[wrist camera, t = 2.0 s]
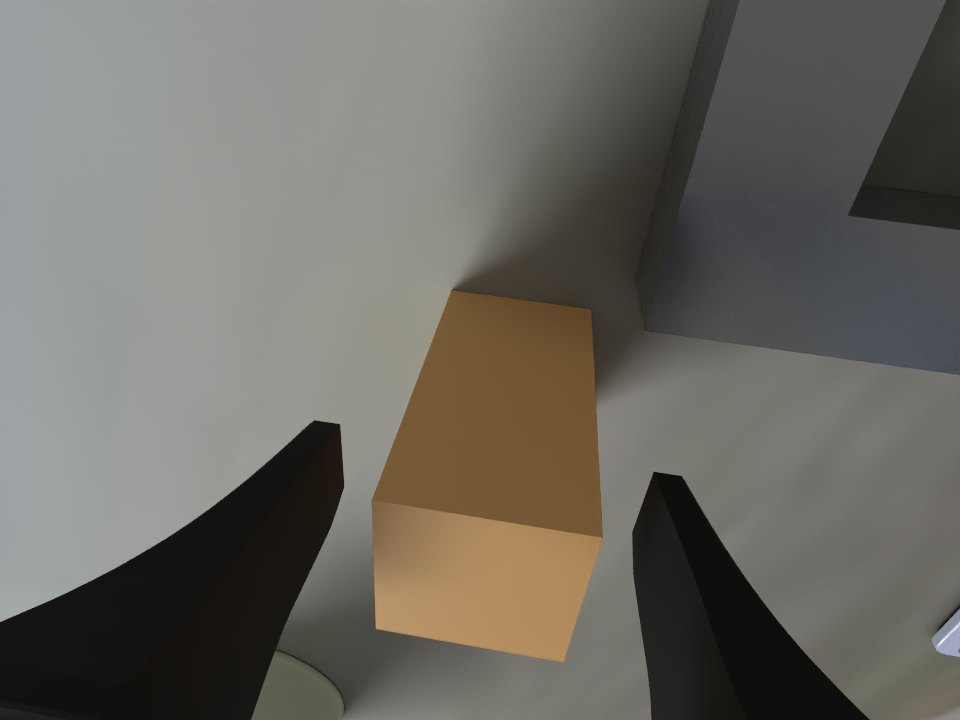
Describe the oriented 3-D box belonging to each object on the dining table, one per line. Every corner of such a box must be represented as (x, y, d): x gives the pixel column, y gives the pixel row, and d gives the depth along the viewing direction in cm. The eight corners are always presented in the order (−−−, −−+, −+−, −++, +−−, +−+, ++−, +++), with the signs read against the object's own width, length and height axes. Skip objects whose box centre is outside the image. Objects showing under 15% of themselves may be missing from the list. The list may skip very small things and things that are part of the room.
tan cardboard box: (591, 309, 16) (603, 538, 10) (566, 417, 19) (563, 662, 12) (451, 290, 17) (372, 500, 10) (444, 399, 19) (375, 628, 12)
